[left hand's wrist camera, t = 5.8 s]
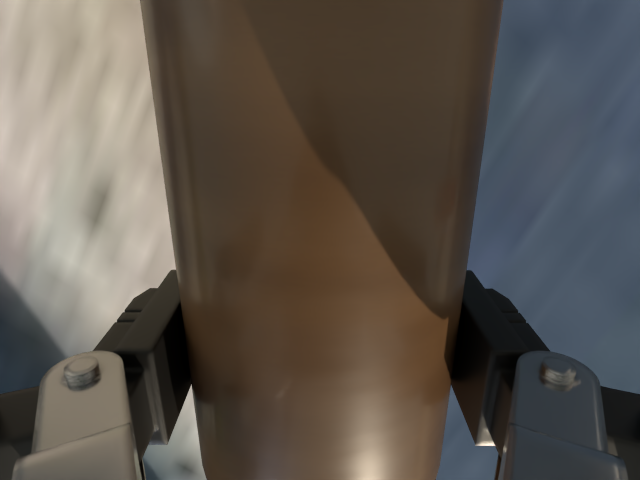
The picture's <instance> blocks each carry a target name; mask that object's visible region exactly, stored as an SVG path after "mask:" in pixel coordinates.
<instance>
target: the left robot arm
mask: <svg viewBox="0 0 640 480" xmlns="http://www.w3.org/2000/svg"><path fill="white" fill-rule="evenodd" d="M191 384H192V383H191V376H190V368H189V361H188V353H187V346H186V338H185V331H184V323H183V316H182V309H181V301H180V294H179V286H178V279H177V271H176V270H171V271H170V272H169V273H168V275H167V276H166V278H165V279H164V280H163V282H162V283H161V285H160V286H159V287H158V288H150V289H148V290H147V291H145V292H143V293H142V294H140V295H139V296H137V297H135V298H134V299H133V300H132V302H131V303H130V304H129V305H128V307H127V308H126V309H125V312H123V313H122V314H121V316H120V317H119V318H118V319H117V322H115V323H114V325H113V326H112V327H111V328H110V330H109V331H108V332H107V333H106V335H105V336H104V337H103V339H102V340H101V341H100V342H99V344H98V345H97V346H96V347H95V349H94V350H93V351H90V352H85V353H81V354H77V355H74V356H72V357H69V358H67V359H65V360H63V361H61V362H59V363H58V364H56V365H55V366H53V367H52V368H51V369H50V370H49V371H47V372H46V374H45V375H44V376H43V378H42V380H41V382H40V386H37V387H33V388H28V389H23V390H18V391H13V392H8V393H3V394H0V480H146V476H145V470H144V464H143V459H142V457H143V455H144V453H145V451H146V448H147V446H148V445H167V444H168V441H169V439H170V436H171V434H172V431H173V429H174V426H175V424H176V421H177V419H178V416H179V414H180V411H181V409H182V406H183V404H184V401H185V399H186V396H187V394H188V391H189V389H190V386H191ZM451 385H452V388H453V390H454V393H455V395H456V398H457V400H458V403H459V405H460V408H461V410H462V413H463V415H464V417H465V420H466V422H467V425H468V427H469V430H470V432H471V435H472V437H473V440H474V442H475V445H476V446H496V449H497V451H498V453H499V454H498V459H497V464H496V470H495V476H494V480H640V394H635V393H631V392H626V391H621V390H616V389H611V388H607V387H603V386H600V382H599V380H598V378H597V376H596V375H595V374H594V372H593V371H591V370H590V369H589V368H588V367H587V366H585V365H584V364H582V363H581V362H579V361H577V360H575V359H573V358H571V357H568V356H566V355H563V354H559V353H555V352H550V350H549V349H548V348H547V347H546V345H545V344H544V343H543V341H542V340H541V339H540V338H539V336H538V335H537V334H536V333H535V331H534V330H533V329H532V328H531V326H530V325H529V324H528V323H526V320H525V319H524V318H523V316H522V315H521V314H520V313H518V310H517V309H516V307H515V306H514V305H513V304H512V302H511V301H510V300H509V299H508V298H506V297H505V296H503V295H502V294H500V293H498V292H497V291H495V290H494V289H485V288H484V287H483V286H482V284H481V283H480V281H479V280H478V279H477V277H476V276H475V274H474V273H473V272H472V271H471V270H466V277H465V284H464V291H463V299H462V306H461V313H460V321H459V328H458V335H457V342H456V350H455V357H454V364H453V372H452V379H451Z"/></svg>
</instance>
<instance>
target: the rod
mask: <svg viewBox="0 0 640 480" xmlns="http://www.w3.org/2000/svg"><path fill="white" fill-rule="evenodd" d="M140 3H141V11H142V18H143V25H144V33H145V40H146V48H147V55H148V63H149V70H150V78H151V85H152V92H153V100H154V107H155V115H156V122H157V130H158V137H159V145H160V152H161V160H162V167H163V174H164V182H165V189H166V197H167V204H168V212H169V219H170V227H171V234H172V241H173V249H174V256H175V264H176V271H177V279H178V286H179V294H180V301H181V309H182V316H183V323H184V331H185V338H186V346H187V353H188V361H189V368H190V376H191V383H192V390H193V398H194V405H195V413H196V420H197V428H198V435H199V443H200V450H201V458H202V465H203V468H204V472H205V475H206V478H207V480H435V479H436V476H437V473H438V469H439V466H440V459H441V452H442V445H443V437H444V430H445V423H446V415H447V408H448V401H449V393H450V386H451V379H452V372H453V364H454V357H455V350H456V342H457V335H458V328H459V321H460V313H461V306H462V299H463V291H464V284H465V277H466V270H467V262H468V255H469V248H470V240H471V233H472V226H473V218H474V211H475V204H476V197H477V189H478V182H479V175H480V167H481V160H482V153H483V146H484V138H485V131H486V124H487V116H488V109H489V102H490V95H491V87H492V80H493V73H494V65H495V58H496V51H497V43H498V36H499V29H500V22H501V14H502V7H503V0H140Z"/></svg>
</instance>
